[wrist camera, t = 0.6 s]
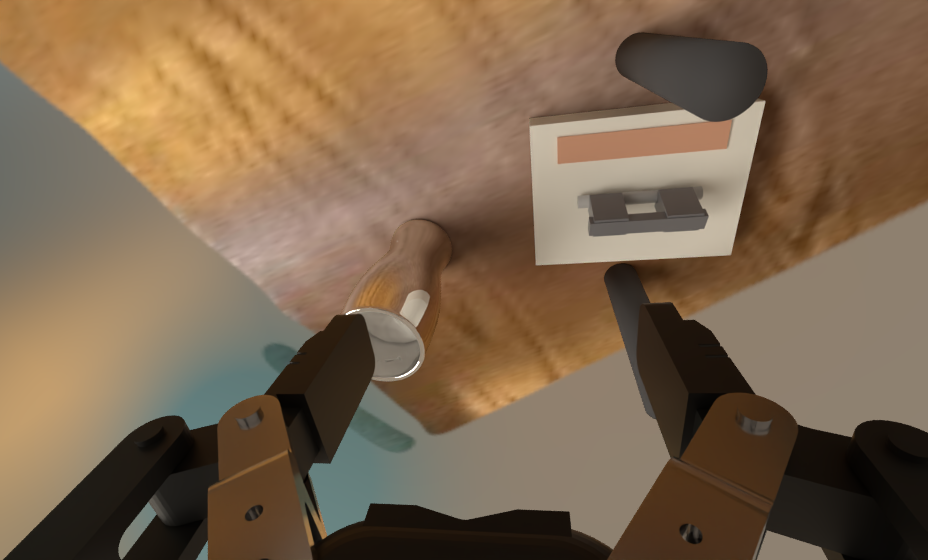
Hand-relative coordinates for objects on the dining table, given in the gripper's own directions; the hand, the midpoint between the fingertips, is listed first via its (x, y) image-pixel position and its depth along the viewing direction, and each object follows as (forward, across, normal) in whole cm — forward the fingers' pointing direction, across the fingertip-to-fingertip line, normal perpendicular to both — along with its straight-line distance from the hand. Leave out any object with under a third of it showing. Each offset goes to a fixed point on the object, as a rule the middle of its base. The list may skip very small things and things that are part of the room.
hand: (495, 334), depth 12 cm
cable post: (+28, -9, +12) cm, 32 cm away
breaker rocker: (+23, -9, +3) cm, 25 cm away
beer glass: (+27, +10, +8) cm, 30 cm away
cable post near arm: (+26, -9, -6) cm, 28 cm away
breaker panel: (+27, -9, +3) cm, 29 cm away
